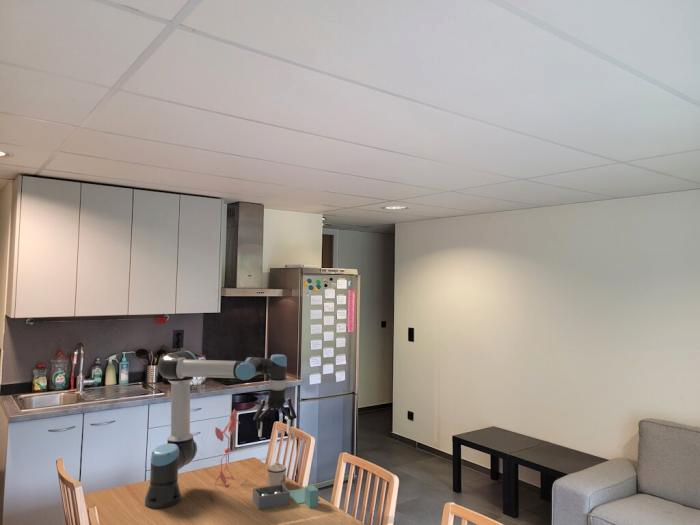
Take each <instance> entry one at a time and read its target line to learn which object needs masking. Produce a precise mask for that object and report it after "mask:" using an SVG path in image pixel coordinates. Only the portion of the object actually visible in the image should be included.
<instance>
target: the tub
mask: <svg viewBox="0 0 700 525" xmlns="http://www.w3.org/2000/svg"><path fill="white" fill-rule="evenodd" d="M275 491H281V493H277V494H274V492H275ZM262 493H268V495H265V496H261V494H262ZM290 498H291V496H290V490H289V489H288V488H287V486H286V485H285V486H284V485H283V484H278V485H272V486H261V487H260V486H259V487H255V488H252V502H253V504H254V505H255V507H256V508H257V510H258V511H260V510H265V509H271V508H276V507H281V506H288V505H290V504H291V502H290V501H291V500H290Z"/></svg>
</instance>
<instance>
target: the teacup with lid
mask: <svg viewBox="0 0 700 525" xmlns="http://www.w3.org/2000/svg"><path fill="white" fill-rule="evenodd" d="M286 473H287V466H286V465H285V464H281V463H280V462H279V461H275V462H274V463H273V464H270V465H269V466H267V486H272V485H278V484H283V485H284V486H285V487H286V480H287V479H286V478H287V477H286V475H287V474H286Z"/></svg>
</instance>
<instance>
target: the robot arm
mask: <svg viewBox="0 0 700 525" xmlns="http://www.w3.org/2000/svg"><path fill="white" fill-rule="evenodd" d="M287 359H288V357H287V356H286V355H285V354H276V353H275V354H272V355H271V356H270V357H269V358H268V357H267V358H266V357H255V356H251V357H250V356H249V357H246V359H245V360H218V359H217V360H215V359H214V360H211V359H197V357H196V355H195V354H194V353H193V352H192V351H190V350H179V351H176V352H175V351H174V352H172V353H166V354H165V355H163V356H162V357H161V358H160V359H159V361H158V364H157V369H158V373H159V374H160V376H161V377H163V378H164V379H166V380H167V381H168V382H169V383H170V386H171V388H170V392H171V393H170V435H169V436H168V437H167V443H163V444H160V445H158V446H156V447H155V448H154V449H153V450H152V451H151V456H150V470H149V471H150V473H149V474H150V475H149V486H148V489H147V490H146V494H145V496H144V505H145V506H146V507H148V508H153V509H164V508H169V507H172V506H175V505H177V504H179V503H180V501H181V499H182V492H181V489H180V486H179V482H178V479H179V478H178V477H179V470H181V469H182V468H183V467H185V466H186V465H189V464H190V463H191V462H192V461H193V459H195V457H196V455H197V453H198V445H197V442H195V440H194V435H193V434H192V433H191V382H192V381H193V380H194V377H195V378H215V379H216V378H220V379H221V378H222V379H238V380H241V381H248V380H251V379H252V378H254V377H256V376H258V375H262V376H263V375H266V376H269V381H268V382H269V383H268V388H269V389H268V399H263V398H262V399H261V400H260V405H259V407H258V409H257V410H256V412H255V414H254V416H253V418H252V420H253V421H254V422H256V429H257V430H258V431H257V432H258V435H257V436H258V437H259V438H262V434H263V422H262V421H263V420H264V418H265V417H266V416H267V415H268V414H269V413H270V411H272V410H274V411H275V410H280V409H281V410H282V411H283V412H284V414H285V415H286V416H287V417H288V418H287V419H286V434H287V435H288V436H289V435H291V428H292V427H293V421H294V420H295V419H297V418H298V416H297V414H296V412H295V410H294V407H293V404H292V399H291V398H290V397H287V398H285V396H286V383H287V382H286V380H287V368H288V367H287V366H288V365H287V363H288V362H287V361H288V360H287ZM285 403H286V404H287V406H288V408H289V411H290V412H289V411H288V410H287V408H286V407H285V406H284V405H285ZM265 405H267V406H266V408H265ZM264 408H265V409H264ZM290 413H291V414H290Z"/></svg>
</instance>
